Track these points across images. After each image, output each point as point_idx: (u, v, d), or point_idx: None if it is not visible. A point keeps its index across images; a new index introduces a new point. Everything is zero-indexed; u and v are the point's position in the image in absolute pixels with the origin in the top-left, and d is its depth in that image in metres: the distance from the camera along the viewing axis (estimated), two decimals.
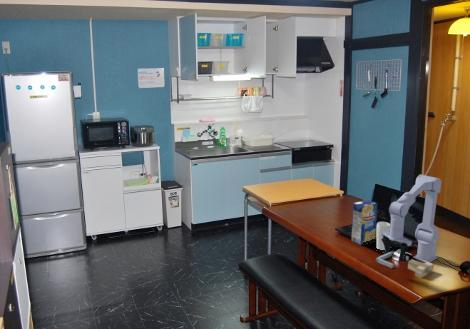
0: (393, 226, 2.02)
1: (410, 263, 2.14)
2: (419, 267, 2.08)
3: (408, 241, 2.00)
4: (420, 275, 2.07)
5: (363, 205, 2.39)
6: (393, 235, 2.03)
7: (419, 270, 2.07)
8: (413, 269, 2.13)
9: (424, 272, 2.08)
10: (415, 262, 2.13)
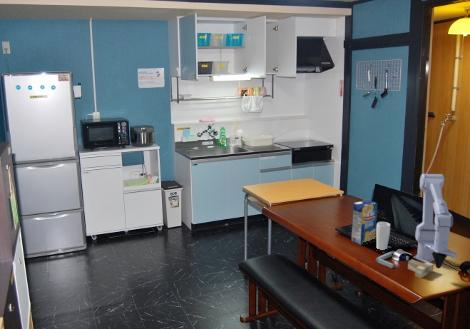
0: (443, 239, 1.98)
1: (410, 263, 2.14)
2: (419, 267, 2.08)
3: (454, 253, 1.97)
4: (420, 275, 2.07)
5: (363, 205, 2.39)
6: (438, 247, 2.00)
7: (419, 270, 2.07)
8: (413, 269, 2.13)
9: (424, 272, 2.08)
10: (415, 262, 2.13)
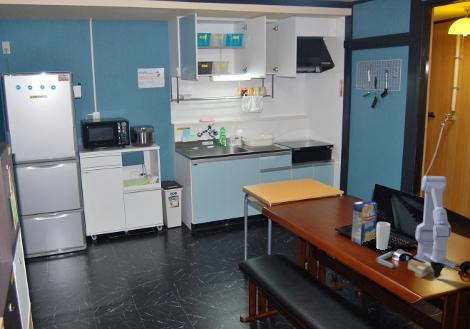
0: (441, 249, 2.00)
1: (410, 263, 2.14)
2: (419, 267, 2.08)
3: (452, 263, 1.99)
4: (420, 275, 2.07)
5: (363, 205, 2.39)
6: (436, 257, 2.01)
7: (419, 270, 2.07)
8: (413, 269, 2.13)
9: (424, 272, 2.08)
10: (415, 262, 2.13)
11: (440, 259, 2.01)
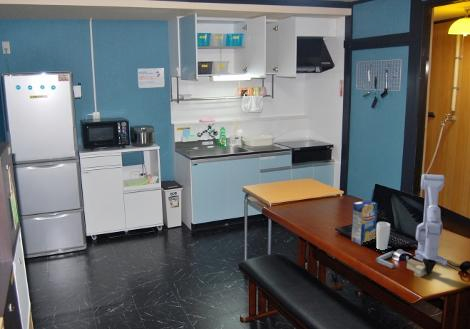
0: (432, 246, 2.03)
1: (409, 263, 2.15)
2: (418, 266, 2.09)
3: (444, 260, 2.02)
4: (419, 274, 2.07)
5: (363, 205, 2.39)
6: (428, 254, 2.04)
7: (418, 269, 2.07)
8: (411, 269, 2.14)
9: (423, 272, 2.08)
10: (414, 261, 2.14)
11: (432, 256, 2.04)
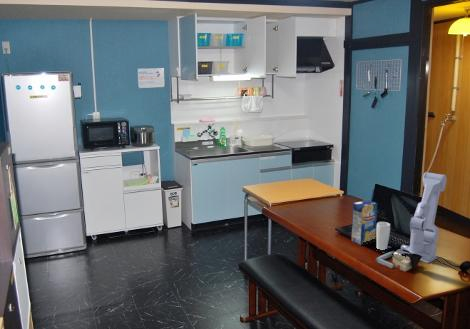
0: (414, 240, 2.09)
1: (395, 257, 2.20)
2: (403, 261, 2.15)
3: (428, 254, 2.07)
4: (404, 269, 2.13)
5: (363, 205, 2.39)
6: (413, 248, 2.10)
7: (403, 264, 2.13)
8: (397, 263, 2.20)
9: (408, 266, 2.14)
10: (400, 256, 2.20)
11: (417, 251, 2.09)
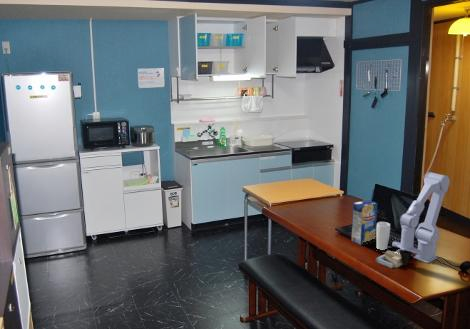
0: (403, 236, 2.13)
1: (386, 254, 2.24)
2: (394, 257, 2.18)
3: (418, 251, 2.11)
4: (395, 265, 2.17)
5: (363, 205, 2.39)
6: (404, 245, 2.14)
7: (394, 260, 2.17)
8: (389, 260, 2.23)
9: (399, 262, 2.18)
10: (391, 253, 2.23)
11: (407, 247, 2.13)
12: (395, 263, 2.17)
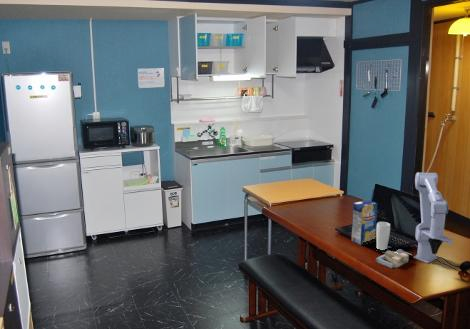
0: (439, 225, 2.04)
1: (386, 254, 2.24)
2: (394, 257, 2.18)
3: (449, 239, 2.03)
4: (395, 265, 2.17)
5: (363, 205, 2.39)
6: (434, 234, 2.06)
7: (394, 260, 2.17)
8: (389, 260, 2.24)
9: (399, 262, 2.18)
10: (391, 253, 2.23)
11: (438, 236, 2.05)
12: (395, 263, 2.17)
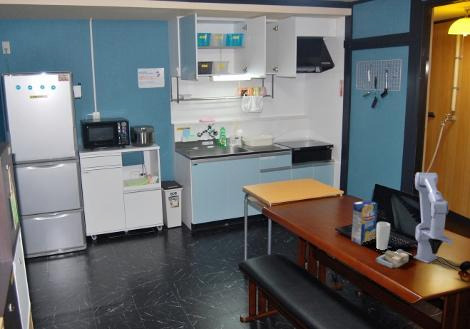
0: (439, 225, 2.04)
1: (386, 254, 2.24)
2: (394, 257, 2.18)
3: (449, 239, 2.03)
4: (395, 265, 2.17)
5: (363, 205, 2.39)
6: (434, 234, 2.06)
7: (394, 260, 2.17)
8: (389, 260, 2.24)
9: (399, 262, 2.18)
10: (391, 253, 2.23)
11: (438, 236, 2.05)
12: (395, 263, 2.17)
